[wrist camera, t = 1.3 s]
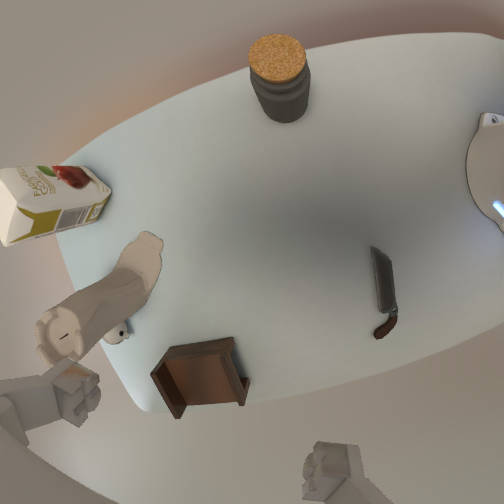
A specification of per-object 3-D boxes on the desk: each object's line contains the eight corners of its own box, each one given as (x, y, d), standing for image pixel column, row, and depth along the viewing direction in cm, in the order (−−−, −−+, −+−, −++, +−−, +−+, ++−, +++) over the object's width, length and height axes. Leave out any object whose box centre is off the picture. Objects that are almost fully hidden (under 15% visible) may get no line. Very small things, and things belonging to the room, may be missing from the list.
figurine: (131, 342, 46) (117, 356, 41) (108, 328, 46) (93, 340, 42) (137, 320, 45) (122, 334, 40) (113, 306, 45) (97, 318, 40)
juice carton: (97, 229, 42) (6, 257, 24) (67, 198, 42) (-22, 213, 24) (118, 189, 40) (22, 201, 22) (85, 160, 40) (-8, 159, 22)
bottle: (259, 85, 34) (237, 33, 20) (303, 80, 33) (306, 25, 19) (264, 125, 35) (245, 91, 21) (310, 121, 34) (318, 83, 20)
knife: (398, 332, 39) (399, 334, 38) (373, 338, 40) (374, 340, 39) (389, 241, 36) (390, 242, 36) (361, 247, 37) (362, 248, 36)
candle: (174, 247, 41) (85, 298, 22) (139, 317, 45) (63, 386, 25) (135, 220, 41) (35, 251, 22) (106, 292, 45) (22, 346, 25)
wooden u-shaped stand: (232, 336, 43) (219, 366, 35) (250, 382, 44) (241, 415, 37) (170, 346, 45) (149, 374, 37) (190, 389, 47) (174, 419, 39)
